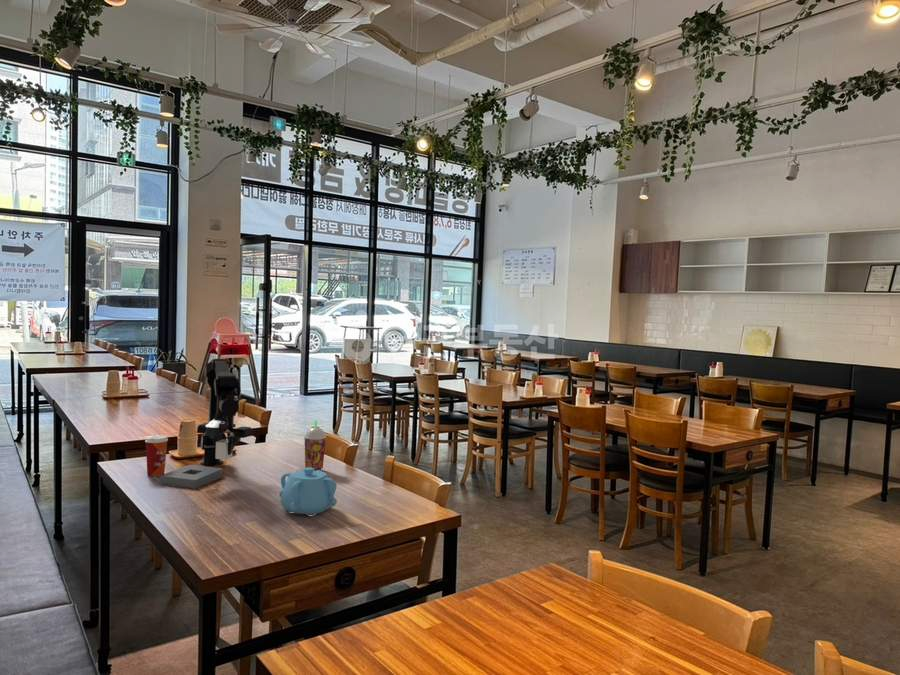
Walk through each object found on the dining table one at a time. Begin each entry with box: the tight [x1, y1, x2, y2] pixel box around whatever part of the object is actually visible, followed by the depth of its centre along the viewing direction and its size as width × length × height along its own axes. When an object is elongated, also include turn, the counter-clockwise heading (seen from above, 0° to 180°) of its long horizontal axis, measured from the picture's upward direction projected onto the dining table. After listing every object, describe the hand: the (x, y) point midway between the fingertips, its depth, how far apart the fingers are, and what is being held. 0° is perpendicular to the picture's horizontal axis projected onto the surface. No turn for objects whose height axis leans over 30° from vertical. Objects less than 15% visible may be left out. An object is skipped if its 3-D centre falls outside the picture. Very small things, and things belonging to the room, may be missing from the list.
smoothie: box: [303, 419, 327, 471], centre depth 237 cm, size 8×8×20 cm
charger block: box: [215, 439, 233, 461], centre depth 215 cm, size 4×4×6 cm
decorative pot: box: [279, 467, 338, 515], centre depth 192 cm, size 16×16×14 cm
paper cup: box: [144, 434, 169, 477], centre depth 222 cm, size 8×8×14 cm
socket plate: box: [159, 464, 224, 489], centre depth 218 cm, size 16×14×3 cm
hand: (223, 454), depth 215 cm, fingers closed on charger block, 4 cm apart
